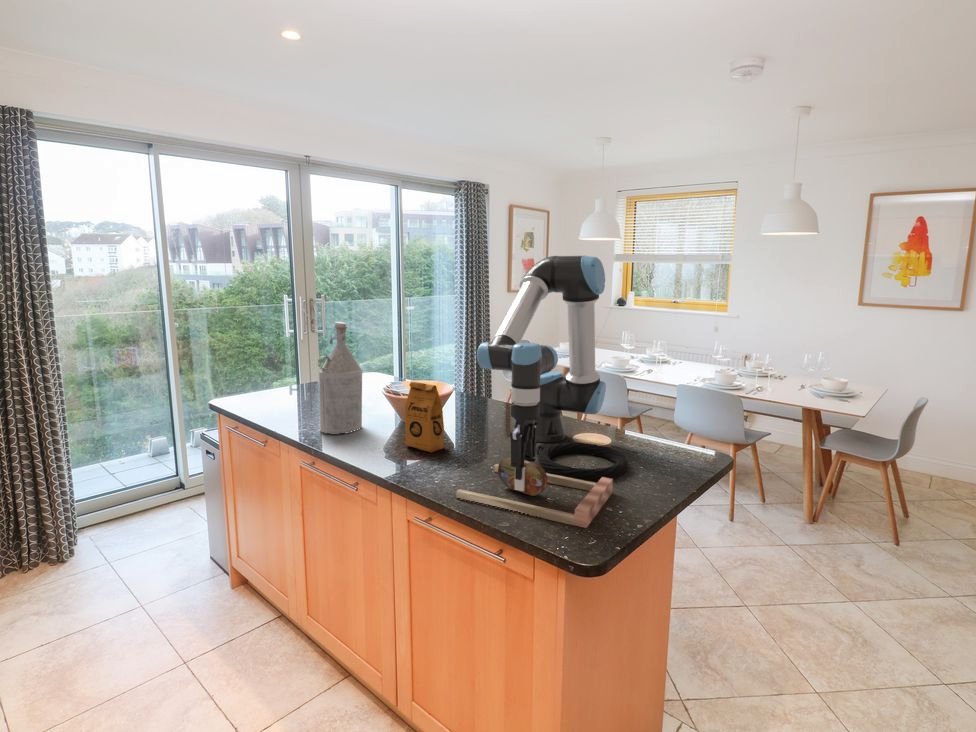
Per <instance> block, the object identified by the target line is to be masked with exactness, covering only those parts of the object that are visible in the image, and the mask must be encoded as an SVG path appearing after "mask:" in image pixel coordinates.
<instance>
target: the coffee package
mask: <svg viewBox="0 0 976 732" xmlns="http://www.w3.org/2000/svg"><path fill="white" fill-rule="evenodd" d="M409 387H410V388H409V391H408V394H407V398H406V401H405V405H404V422H405V427H404V429H405V446H408V447H412V448H414V449H417V450H420V451H424V452H429V453H433V452H436V451H439V450H440V451H441V450H442V449H444V432H445V431H444V430H445V425H444V424H445V423H444V414H443V413H444V412H443V405H442V402H441V398H440V395H439V391H438V388H437V385H435V384H429V383H423V382H416V381H412V380H411V381H410V383H409Z"/></svg>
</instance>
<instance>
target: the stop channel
mask: <svg viewBox="0 0 976 732" xmlns="http://www.w3.org/2000/svg"><path fill="white" fill-rule="evenodd" d="M499 464H500V463H496V464H494V465H493V473H498V467H499ZM546 475H547V484H554V485H559V486H563V487H568V488H569V487H570V488H573V489H579V490H584V491H589V492H588V493H587V494H586V495H585V496H584V498H583V499H582V500H581V501H580V502H579V503H578V505H577V506H576V507H575V508H574V513H571V512H566V511H562V510H558V509H557V510H556V509H552V508H547V507H543V506H540V505H539V506H537V505H534V504H529V503H525V502H521V501H516V500H512V499H508V498H507V499H506V498H504V497H502V498H501V497H497V496H493V495H489V494H485V493H479V492H475V491H470V490H467V489H462V488H459V489H457V490H456V497H457V498H461V499H460V500H462V499H466V500H470V501H469V502H471V501H475V502H479V503H484V504H489V505H492V506H497V507H501V508H505V509H509V510H508V511H510V510H513V511H512V512H514V511H518V512H521V513H520V514H523V513H525V514H524V515H527V514H529V515H528V516H532V517H536V516H537V518H540V517H541V519H545V520H550V521H553V522H557V523H563V524H567V525H571V526H577V527H580V528H584V529H587V528H588V527H589V525H590V524H591V523H592V521H593V520H594V519H595V517H596V515H598V513H599V511H601V509H602V508H603V506H604V505H605V503H606V502H607V501H608V499H609V498H610V497H611V496H612V494H613V487H614V486H613V484H614V478H606V477H602V478H601V479H600V480H599V481H597V482H595V481H584V480H579V479H574V478H568V477H563V476H558V475H553V474H551V473H548V472H546ZM457 498H456V499H457ZM466 500H465V501H466ZM475 502H474V503H475ZM479 503H478V504H479ZM484 504H483V505H484ZM492 506H491V507H492ZM497 507H496V508H497ZM501 508H500V509H501ZM505 509H504V510H505ZM518 512H517V513H518Z"/></svg>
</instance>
